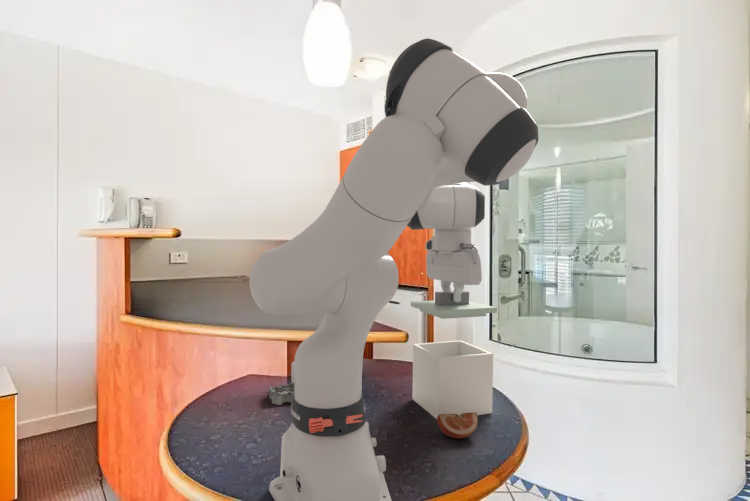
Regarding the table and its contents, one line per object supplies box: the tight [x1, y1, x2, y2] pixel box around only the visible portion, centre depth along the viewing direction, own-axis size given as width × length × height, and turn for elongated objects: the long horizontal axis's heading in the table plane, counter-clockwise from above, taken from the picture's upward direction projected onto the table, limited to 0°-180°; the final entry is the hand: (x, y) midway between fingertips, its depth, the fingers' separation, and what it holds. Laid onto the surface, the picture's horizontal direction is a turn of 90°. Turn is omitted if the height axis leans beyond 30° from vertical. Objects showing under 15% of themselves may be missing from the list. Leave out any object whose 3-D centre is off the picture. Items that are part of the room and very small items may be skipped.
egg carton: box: [268, 381, 294, 406], centre depth 107 cm, size 11×8×4 cm
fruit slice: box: [436, 412, 479, 439], centre depth 87 cm, size 8×7×5 cm
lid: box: [410, 290, 498, 320], centre depth 103 cm, size 15×15×5 cm
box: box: [411, 339, 494, 420], centre depth 103 cm, size 14×14×14 cm
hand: (451, 300), depth 103 cm, fingers closed on lid, 2 cm apart
